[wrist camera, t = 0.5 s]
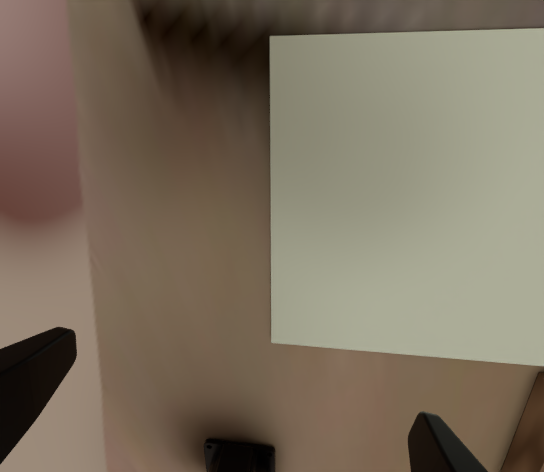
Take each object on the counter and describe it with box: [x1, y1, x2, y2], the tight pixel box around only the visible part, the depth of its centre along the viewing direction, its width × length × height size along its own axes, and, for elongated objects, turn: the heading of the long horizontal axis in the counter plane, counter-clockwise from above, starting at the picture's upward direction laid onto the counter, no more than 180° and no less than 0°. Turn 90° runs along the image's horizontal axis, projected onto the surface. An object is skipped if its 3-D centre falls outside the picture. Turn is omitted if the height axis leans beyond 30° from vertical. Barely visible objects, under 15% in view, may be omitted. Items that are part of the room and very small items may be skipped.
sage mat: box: [270, 28, 544, 366], centre depth 20 cm, size 20×20×1 cm
